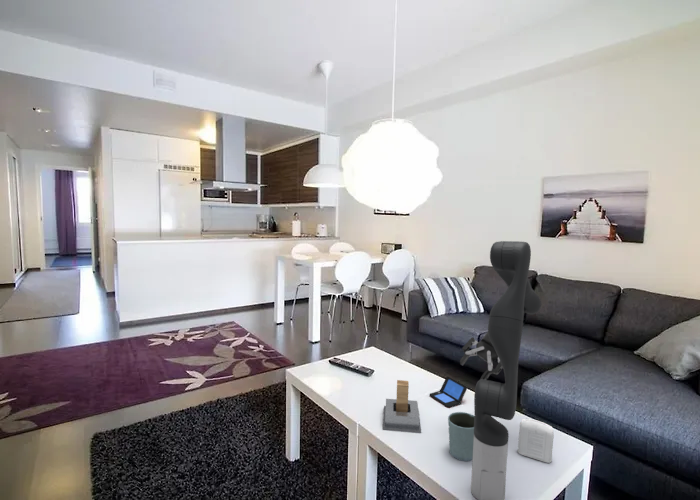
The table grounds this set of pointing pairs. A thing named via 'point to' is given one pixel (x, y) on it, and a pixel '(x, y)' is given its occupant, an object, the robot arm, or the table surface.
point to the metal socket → (401, 417)
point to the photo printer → (536, 440)
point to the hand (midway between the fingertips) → (471, 371)
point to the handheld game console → (450, 393)
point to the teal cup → (461, 435)
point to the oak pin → (402, 396)
